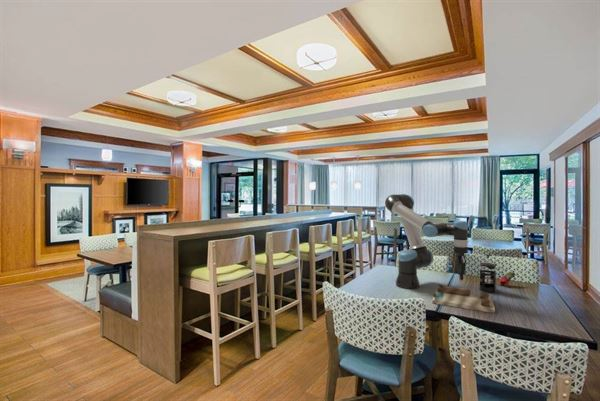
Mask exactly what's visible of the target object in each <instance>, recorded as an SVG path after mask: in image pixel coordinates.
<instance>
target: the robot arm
mask: <svg viewBox="0 0 600 401" xmlns="http://www.w3.org/2000/svg"><path fill="white" fill-rule="evenodd" d="M384 206H385V208H386V209H387V211H389V212H390V213H392V214H394V215H395V214H396V215H398V216H399V217H400V220H401V223H402V226H403V228H404V232H405V235H406V237H407V240H408V244H409V246H410V248H409V249H403V250H401V251H399V252H398V258H397V260H398V263H397V264H398V274H397V277H396V279H395V285H396V286H397V287H399V288H402V289H408V290H411V289H412V290H413V289H414V290H415V289H418V288H420V281H419V277H418V270H417V269H422V268H426V267H429V266H431V265H432V264H433V262H434V254H433V252H432V251H431V250H430V249H428V247H427V246H426V245H425V244H423V241H422V237H421V234H420V232H419V230H420V231H422V234H423V235H424V236H425V237H426V238H427V237H428V238H434V237H442V236H452V237H453V253H456V255H455V258H456V259H455V263H456V272H457V276H458V277H457V281H458V282H457V284H458V285H459V286H465V285H464V284H465V280H464V279H465V278H464V277H465V276H464V275H465V274H466V265H467V264H466V263H467V259H466V256H465V254H468V252H469V247H468V246H469V245H468V244H469V240H468V234H469V233H468V232H469V228H468V227H469V226H468V222H467V221H464V220H454V221H453V223H445V222H438V223H433V222H431V221H430V220H428V219H427V218H425V217H423V216H422V215H420V214H418V213H417V212H415V211H414V206H415V200H414V198H413V197H412V196H411V195H409V194H404V193H402V194H390V195H388V196H387V197H386V199H385V202H384Z"/></svg>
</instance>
